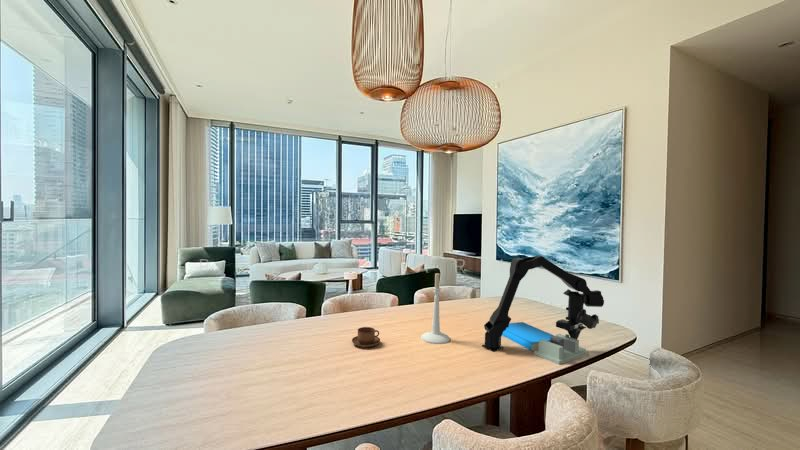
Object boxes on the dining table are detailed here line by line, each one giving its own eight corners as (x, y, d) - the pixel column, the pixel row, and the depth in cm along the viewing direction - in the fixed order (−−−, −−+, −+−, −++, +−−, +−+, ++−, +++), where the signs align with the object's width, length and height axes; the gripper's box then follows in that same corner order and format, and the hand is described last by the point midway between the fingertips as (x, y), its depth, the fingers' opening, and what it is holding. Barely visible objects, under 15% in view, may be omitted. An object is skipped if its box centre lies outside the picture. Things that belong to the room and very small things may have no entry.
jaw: (574, 353, 136) (575, 338, 136) (554, 346, 143) (555, 332, 143) (578, 352, 137) (579, 337, 137) (558, 345, 145) (559, 331, 145)
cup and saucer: (366, 337, 153) (366, 323, 153) (385, 344, 145) (386, 329, 145) (345, 344, 144) (346, 329, 144) (365, 351, 136) (366, 336, 136)
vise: (558, 364, 129) (559, 349, 128) (533, 354, 138) (534, 340, 138) (588, 354, 139) (588, 340, 139) (562, 345, 148) (563, 332, 148)
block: (558, 355, 134) (559, 340, 134) (549, 351, 138) (550, 337, 138) (563, 353, 136) (563, 338, 136) (554, 350, 139) (554, 335, 139)
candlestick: (440, 346, 144) (442, 276, 143) (415, 339, 151) (417, 272, 151) (454, 338, 154) (456, 272, 153) (431, 331, 162) (432, 269, 161)
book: (522, 321, 171) (562, 337, 147) (521, 330, 171) (562, 347, 147) (494, 324, 164) (531, 341, 141) (493, 333, 164) (531, 352, 141)
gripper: (582, 313, 131) (580, 353, 132) (607, 308, 141) (605, 345, 141) (555, 306, 141) (554, 344, 141) (581, 302, 151) (579, 336, 151)
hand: (574, 342), depth 143 cm, fingers closed
